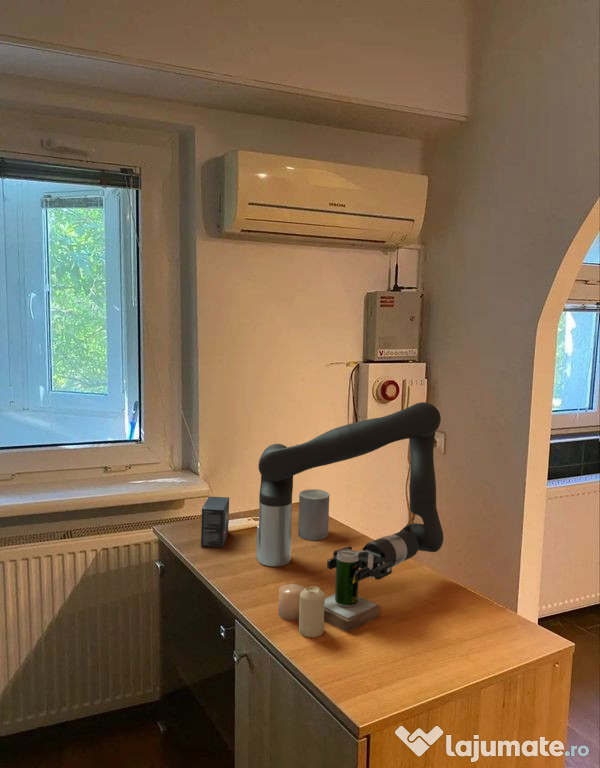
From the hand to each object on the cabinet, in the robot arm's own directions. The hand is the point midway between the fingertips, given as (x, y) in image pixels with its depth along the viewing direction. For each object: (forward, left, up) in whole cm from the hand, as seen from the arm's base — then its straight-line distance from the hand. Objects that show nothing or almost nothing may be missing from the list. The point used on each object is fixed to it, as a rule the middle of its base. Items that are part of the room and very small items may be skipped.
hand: (341, 570), depth 141 cm
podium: (0, +2, -12) cm, 12 cm away
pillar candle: (-42, +34, -12) cm, 55 cm away
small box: (-59, +8, -12) cm, 61 cm away
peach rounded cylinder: (-9, -7, -12) cm, 16 cm away
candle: (0, -9, -12) cm, 15 cm away
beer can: (0, +2, -9) cm, 9 cm away
